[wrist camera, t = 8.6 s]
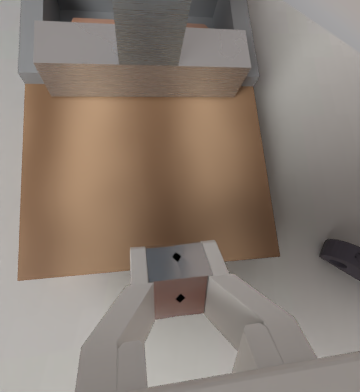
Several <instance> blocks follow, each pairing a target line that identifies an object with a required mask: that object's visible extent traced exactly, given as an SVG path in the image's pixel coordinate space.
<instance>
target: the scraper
mask: <svg viewBox="0 0 360 392" xmlns="http://www.w3.org/2000/svg"><path fill="white" fill-rule="evenodd" d="M112 3H113V13H114V22H115V24H102V23H80V22H58V21H37V20H34V51H33V63H34V65H35V67H36V69H37V71H38V73H39V74H40V76H41V78H42V80H43V82H44V84H45V86H46V87H47V89H48V91H49V93H50V95H51V96H90V97H235V95H236V93H237V92H238V90H239V88H240V86H241V85H242V83H243V81H244V80H245V78H246V76H247V74H248V73H249V71H250V69H251V62H250V56H249V49H248V43H247V37H246V31H245V30H232V29H211V28H189V27H186V25H187V20H188V15H189V10H190V5H191V0H112Z"/></svg>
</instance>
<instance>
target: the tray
mask: <svg viewBox="0 0 360 392" xmlns="http://www.w3.org/2000/svg"><path fill="white" fill-rule="evenodd" d="M73 18H92V19H113V20H114V13H113V3H112V0H21V13H20V35H19V57H18V74H19V75H20V77H21V78H22V80H23V81H24V83H25V84H44V82H43V80H42V78H41V76H40V74H39V73H38V71H37V69H36V67H35V65H34V63H33V51H34V20H37V21H58V22H71V21H72V19H73ZM187 23H193V24H205V25H206V26H207V27H208V28H211V29H232V30H245V31H246V37H247V43H248V49H249V56H250V62H251V69H250V71H249V73H248V74H247V76H246V78H245V80H244V81H243V83H242V85H241V86H254V84H255V83H256V81H257V80H258V78H259V71H258V65H257V59H256V53H255V47H254V41H253V35H252V29H251V23H250V17H249V11H248V5H247V0H191V5H190V10H189V15H188V20H187Z"/></svg>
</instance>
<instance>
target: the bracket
mask: <svg viewBox="0 0 360 392" xmlns="http://www.w3.org/2000/svg"><path fill="white" fill-rule="evenodd" d="M319 257H321V258H322V259H324V260H326V261H327V262H329V263H331V264H332V265H334V266H336V267H337V268H339V269H341V270H342V271H344V272H346V273H347V274H349V275H351V276H352V277H354V278H356V279H357V280H359V281H360V247H358V246H356V245H353V244H351V243H348V242H344V241H340V240H334V239H328V240H326V241H325V244H324V246H323V249H322V251H321V254H320V256H319Z"/></svg>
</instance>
